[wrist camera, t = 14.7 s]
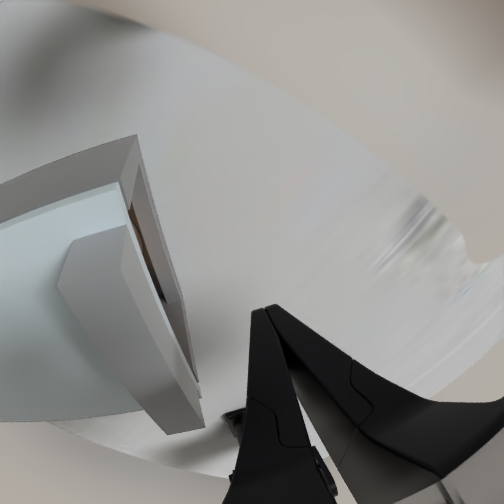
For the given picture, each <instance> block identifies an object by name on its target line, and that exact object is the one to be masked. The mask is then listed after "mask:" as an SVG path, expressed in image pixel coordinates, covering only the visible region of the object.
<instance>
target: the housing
mask: <svg viewBox="0 0 504 504" xmlns="http://www.w3.org/2000/svg"><path fill="white" fill-rule="evenodd" d="M115 182H118V183H119V186H120V189H121V193H122V196H123V199H124V202H125V206H126V209H127V212H128V215H129V218H130V221H131V224H132V227H133V230H134V233H135V236H136V239H137V241H138V244H139V247H140V250H141V253H142V255H143V258H144V261H145V263H146V266H147V269H148V271H149V274H150V277H151V279H152V282H153V284H154V287H155V289H156V292H157V294H158V297H159V299H160V302H161V304H162V306H163V309H164V311H165V314H166V316H167V318H168V321H169V323H170V325H171V328H172V330H173V332H174V334H175V337H176V339H177V341H178V343H179V345H180V348H181V350H182V352H183V354H184V356H185V358H186V361H187V363H188V365H189V367H190V369H191V371H192V373H193V375H194V377H195V379H196V381H197V383H198V382H199V380H198V375H197V370H196V366H195V361H194V356H193V351H192V345H191V340H190V335H189V329H188V324H187V318H186V312H185V307H184V301H183V295H182V292H181V289H180V286H179V283H178V280H177V277H176V274H175V271H174V268H173V265H172V261H171V258H170V255H169V252H168V249H167V246H166V242H165V239H164V236H163V232H162V229H161V226H160V222H159V219H158V215H157V212H156V208H155V205H154V201H153V197H152V194H151V190H150V186H149V183H148V179H147V175H146V171H145V167H144V163H143V159H142V155H141V151H140V147H139V142H138V138H137V134H136V135H132V136H129V137H125V138H122V139H119V140H115V141H112V142H109V143H106V144H102V145H99V146H96V147H93V148H90V149H87V150H84V151H81V152H79V153H76V154H73V155H70V156H68V157H65V158H62V159H60V160H57V161H54V162H52V163H49V164H47V165H44V166H42V167H39V168H37V169H35V170H32V171H30V172H27V173H25V174H23V175H21V176H18V177H16V178H14V179H12V180H10V181H7V182H5V183H3V184H1V185H0V224H1V223H3V222H6V221H8V220H10V219H13V218H15V217H18V216H20V215H23V214H25V213H28V212H30V211H33V210H35V209H38V208H41V207H43V206H46V205H49V204H51V203H54V202H57V201H60V200H63V199H65V198H68V197H71V196H74V195H77V194H80V193H83V192H86V191H89V190H92V189H95V188H98V187H102V186H105V185H108V184H111V183H115Z"/></svg>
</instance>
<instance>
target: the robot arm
mask: <svg viewBox="0 0 504 504" xmlns="http://www.w3.org/2000/svg"><path fill="white" fill-rule="evenodd" d="M296 395H297V396H296ZM297 397H298V399H299V401H300V403H301V405H302V406H303V408H304V410H305V412H306V414H307V415H308V417H309V419H310V421H311V423H312V425H313V426H314V428H315V430H316V432H317V434H318V435H319V437H320V439H321V441H322V443H323V444H324V446H325V448H326V450H327V451H328V453H329V455H330V457H331V458H332V460H333V462H334V463H335V466H336V467H337V469H338V471H339V473H340V474H341V476H342V478H343V479H344V481H345V483H346V485H347V486H348V488H349V490H350V492H351V493H352V495H353V497H354V498H355V500H356V502H357V503H358V504H504V397H502V398H501V399H499V400H496V401H493V402H486V403H466V402H464V403H463V402H437V401H432V400H428V399H425V398H422V397H420V396H418V395H416V394H414V393H412V392H410V391H408V390H406V389H404V388H402V387H400V386H398V385H396V384H394V383H392V382H390V381H388V380H386V379H385V378H383V377H381V376H379V375H377V374H376V373H374V372H372V371H371V370H369V369H368V368H366V367H365V366H363V365H362V364H360V363H359V362H357V361H356V360H355V359H353V360H352V357H350V356H349V355H347V354H346V353H344V352H343V351H342V350H340V349H339V348H337V347H336V346H334V345H333V344H332V343H330V342H329V341H327V340H326V339H325V338H323V337H322V336H320V335H319V334H318V333H316V332H315V331H313V330H312V329H311V328H309V327H308V326H306V325H305V324H304V323H302V322H301V321H299V320H298V319H297V318H295V317H294V316H293V315H291V314H290V313H288V312H287V311H286V310H284V309H283V308H281V307H280V306H279V305H277V304H273V305H270V306H266V307H265V308H260V309H256V310H253V311H252V312H251V328H250V346H249V364H248V383H247V399H246V409H243V410H240V411H236V412H232V413H228V414H226V415H225V418H226V421H227V423H228V425H229V427H230V429H231V431H232V433H233V435H234V437H237V440H238V443H239V446H240V448H239V453H238V457H237V462H236V466H235V470H232V471H233V473H232V474H231V475H229V479H230V483H231V484H230V487H229V490H228V492H227V494H226V497H225V498H224V500H223V502H222V504H337V503H336V500H335V498H334V497H335V496H337V495H338V492H337V487H336V484H335V481H334V479H333V477H332V475H331V473H330V472H329V470H328V468H327V466H326V465H325V463H324V461H323V459H322V458H321V456H320V454H319V452H318V451H317V449H316V447H315V446H312V447H311V443H310V440H309V436H308V433H307V430H306V426H305V423H304V420H303V416H302V413H301V410H300V406H299V403H298V399H297Z"/></svg>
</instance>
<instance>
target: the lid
mask: <svg viewBox="0 0 504 504" xmlns="http://www.w3.org/2000/svg"><path fill="white" fill-rule="evenodd" d="M200 398H202V396H201V391H200V387H199V385H198V383H197V381H196V379H195V377H194V375H193V373H192V371H191V369H190V367H189V365H188V363H187V361H186V358H185V356H184V354H183V352H182V350H181V348H180V345H179V343H178V341H177V339H176V337H175V334H174V332H173V330H172V328H171V325H170V323H169V321H168V318H167V316H166V314H165V311H164V309H163V306H162V304H161V302H160V299H159V297H158V294H157V292H156V289H155V287H154V284H153V282H152V279H151V277H150V274H149V271H148V269H147V266H146V263H145V261H144V258H143V255H142V253H141V250H140V247H139V244H138V241H137V239H136V236H135V233H134V230H133V227H132V224H131V221H130V218H129V215H128V212H127V209H126V206H125V202H124V199H123V196H122V193H121V189H120V186H119V183H118V182H115V183H111V184H108V185H105V186H102V187H98V188H95V189H92V190H89V191H86V192H83V193H80V194H77V195H74V196H71V197H68V198H65V199H63V200H60V201H57V202H54V203H51V204H49V205H46V206H43V207H41V208H38V209H35V210H33V211H30V212H28V213H25V214H23V215H20V216H18V217H15V218H13V219H10V220H8V221H6V222H3V223H1V224H0V422H38V421H57V420H70V419H81V418H91V417H99V416H107V415H115V414H122V413H128V412H135V411H141V410H145V411H146V413H147V414H148V415H149V416H150V417H151V418H152V419H153V420H154V421H155V423H156V424H157V425H158V426H159V427H160V428H161V429H162V430H163V431H164V432H165V433H166V434H167V435H171V434H176V433H181V432H186V431H191V430H196V429H201V428H205V423H204V419H203V415H202V411H201V406H200V402H199V399H200Z"/></svg>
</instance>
